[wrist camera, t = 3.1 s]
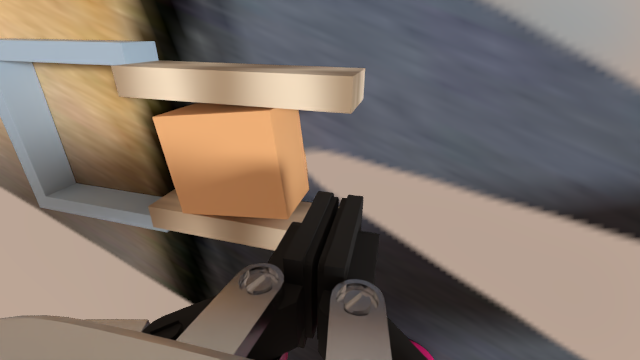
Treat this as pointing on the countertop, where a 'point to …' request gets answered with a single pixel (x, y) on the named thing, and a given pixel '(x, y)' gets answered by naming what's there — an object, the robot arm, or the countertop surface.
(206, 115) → the block
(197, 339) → the robot arm
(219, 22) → the countertop surface
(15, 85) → the bay
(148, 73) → the pair of wooden slats
